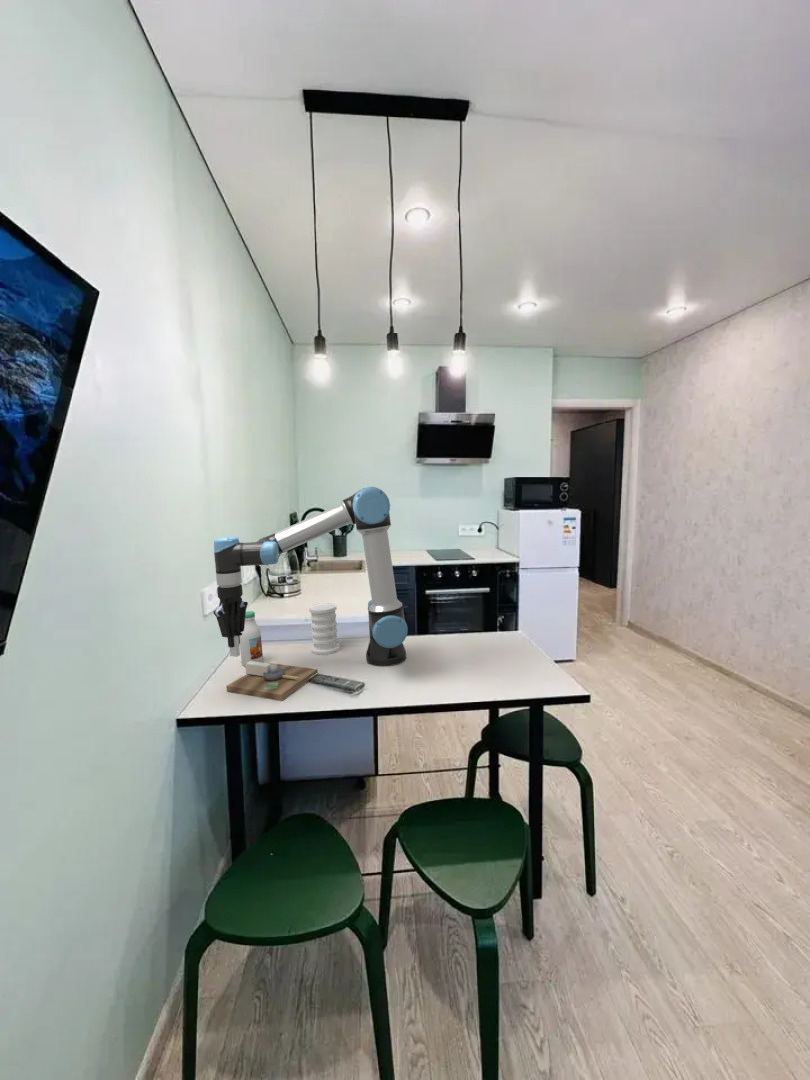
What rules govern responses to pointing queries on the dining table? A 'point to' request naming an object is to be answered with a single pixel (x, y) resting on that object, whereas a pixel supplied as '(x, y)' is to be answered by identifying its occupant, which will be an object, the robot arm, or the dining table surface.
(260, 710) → the dining table surface
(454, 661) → the dining table surface
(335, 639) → the decorative container
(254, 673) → the tuning dial
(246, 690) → the board
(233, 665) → the dining table surface
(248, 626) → the milk bottle
